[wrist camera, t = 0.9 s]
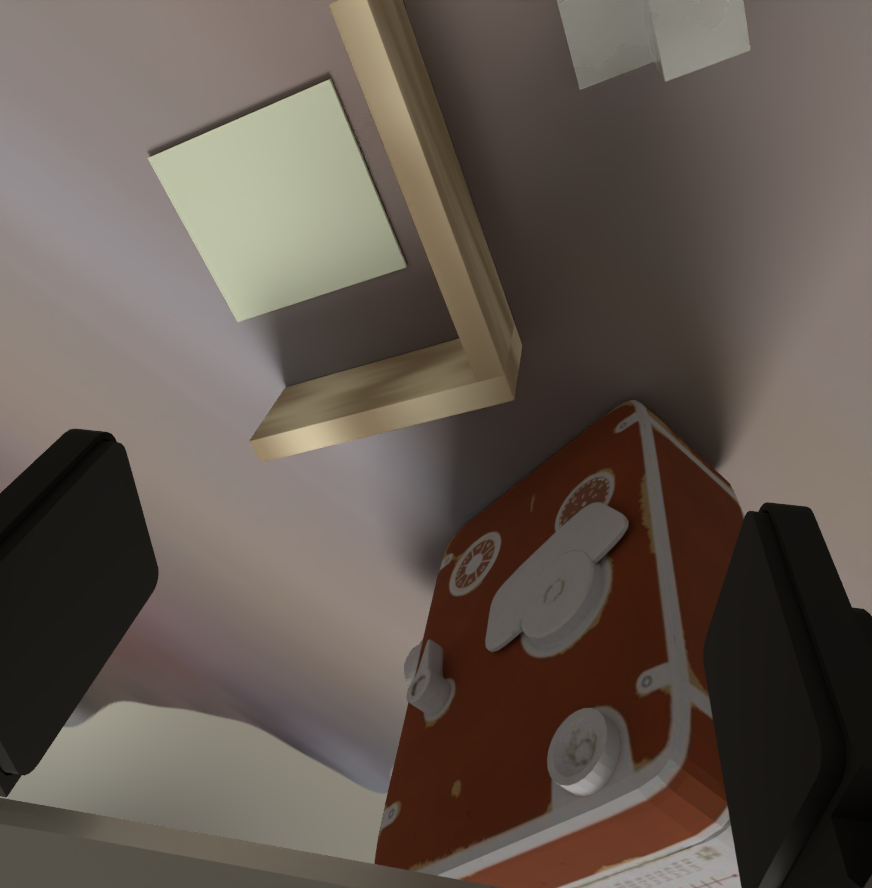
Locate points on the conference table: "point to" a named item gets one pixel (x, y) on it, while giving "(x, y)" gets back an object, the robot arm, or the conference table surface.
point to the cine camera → (573, 678)
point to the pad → (281, 204)
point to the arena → (447, 247)
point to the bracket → (651, 35)
